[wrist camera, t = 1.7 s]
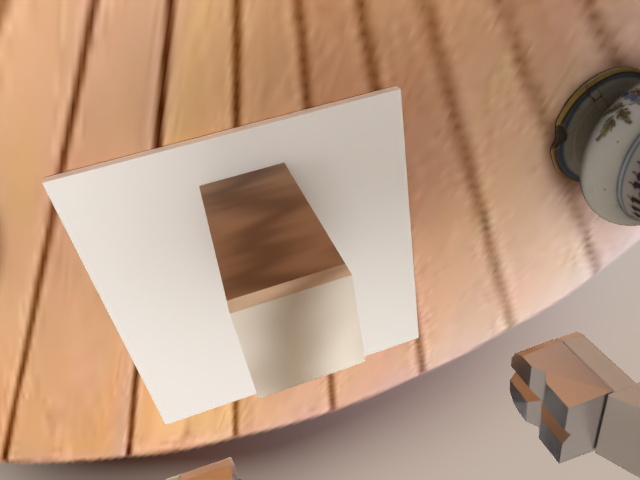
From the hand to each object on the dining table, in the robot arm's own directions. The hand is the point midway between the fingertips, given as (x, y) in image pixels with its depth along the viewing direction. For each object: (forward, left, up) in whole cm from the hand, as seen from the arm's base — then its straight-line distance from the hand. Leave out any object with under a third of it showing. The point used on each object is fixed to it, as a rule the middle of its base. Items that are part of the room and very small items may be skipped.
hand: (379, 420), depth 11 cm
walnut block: (0, +9, -26) cm, 28 cm away
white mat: (0, +15, -27) cm, 31 cm away
